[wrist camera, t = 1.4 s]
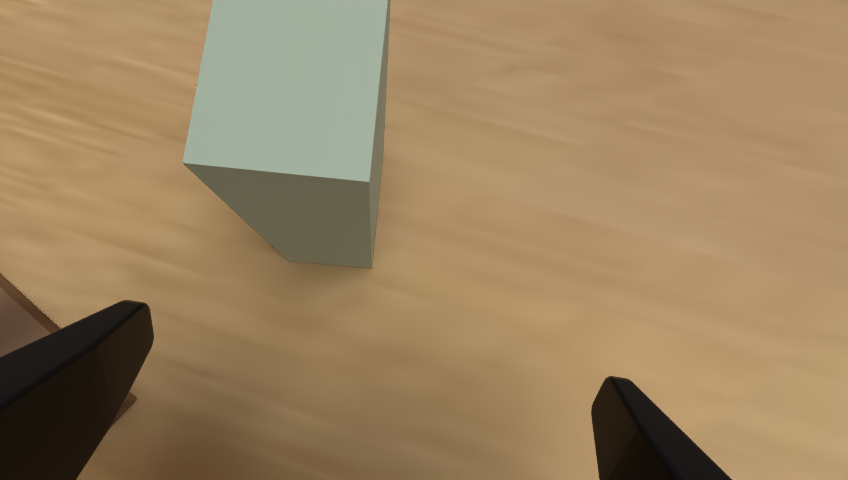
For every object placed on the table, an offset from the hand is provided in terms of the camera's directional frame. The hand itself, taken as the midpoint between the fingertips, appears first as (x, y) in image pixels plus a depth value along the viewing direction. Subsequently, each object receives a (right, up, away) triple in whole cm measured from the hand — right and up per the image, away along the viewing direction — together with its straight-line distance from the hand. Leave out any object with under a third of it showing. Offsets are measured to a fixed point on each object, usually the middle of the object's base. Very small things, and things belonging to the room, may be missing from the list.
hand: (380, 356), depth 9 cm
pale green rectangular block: (-3, +4, +14) cm, 15 cm away
